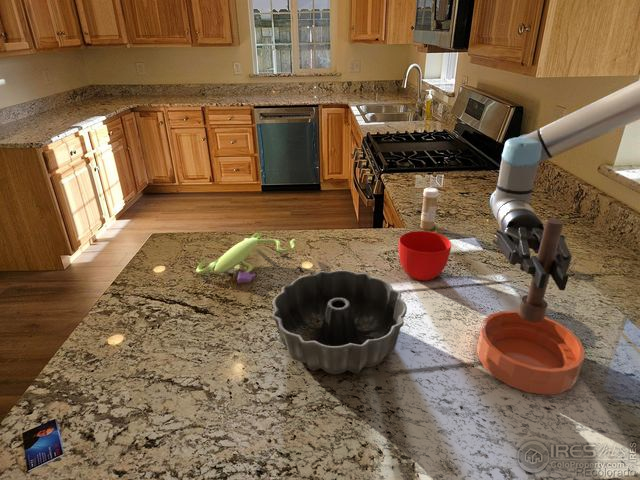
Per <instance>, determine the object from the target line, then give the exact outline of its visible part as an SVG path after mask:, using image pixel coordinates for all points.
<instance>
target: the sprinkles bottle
mask: <svg viewBox="0 0 640 480" xmlns="http://www.w3.org/2000/svg"><path fill="white" fill-rule="evenodd" d="M438 197H439V189H438V188H434V187H425V188H424V189H423V201H422V209H421V215H420V216H421V217H420V218H421V219H420V225H419V227H420V228H421V229H423V230H429V231H430V230H433V229H435V221H436V215H437V207H438Z"/></svg>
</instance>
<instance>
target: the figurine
mask: <svg viewBox="0 0 640 480" xmlns="http://www.w3.org/2000/svg"><path fill="white" fill-rule="evenodd" d="M262 235H263V234H262V232H255V233H254V234H252V236H251V237H245V238H244V239H243V240H242V241H240V242H238V243H237V244H235V245H233V246H232V247H231V248H229V249H228V250H227V251H226V252H225V253H224V254H223V255H221V256H220V257H218V258H217V259H216V260H215V261H213V262H211V263H209V265H208V266H206V267H204V266H205V264H206V263H207V259H206V258H202V260H201V261H200V262H199V264H198V265H197V267H196V269H195V273H196V274H197V275H203V274H206V273H208V272H209V271H211V270H212V269H213V268H214V269H213V272H215V273H218V274H222V273H225V272H228V274H232V275H233V273H234V272H235V267H237V266H239V264H241V265H242V266H244V267H246V268H247V267H248V268H247V270H244V269H240V270H239V271H238V274H237V276H236V277H237V284H246V283H247V284H248V283H250V282H251V281H253V280H255V277H256V273H254V271H253V269H254V266H253V264H251V263H249V262H247V261H245V260H246V259H247V258H248V257H249V256H250V255H251V254H252V253H253V252H254V250H255V249H256V247H257V245H258V244H274V245H276V247H275V248H276V251H277V252H278V253H279V254H286V253H289V252H292V251H294V250H295V249H296V248H297V247H296V245H295V243H297V240H296V239H295V238H293V239H291V240H290V241H289V245H290V247H291V248H286V249H285V248H281V241H280V240H277V239H276V238H275V239H274V238H261V237H262Z"/></svg>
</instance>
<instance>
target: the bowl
mask: <svg viewBox="0 0 640 480" xmlns="http://www.w3.org/2000/svg"><path fill="white" fill-rule="evenodd" d="M476 353H477V358H478V360H479V361H480V363H481V365H482V367H483V368H484V369H485V370H486V371H487V372H488V373H489V374H491V375H492V377H494V378H496V379H497V380H499V381H501V382H502V383H504V384H505V385H507V386H509V387H511V388H514V389H517V390H520V391H522V392H525V393H531V394H538V395H556V394H562V393H564V392H566V391H568V390H570V389H572V387H574V385H575V384H576V382H577V381H578V378H579V376H580V372H581V369H582V367H583V365H584V361H585V355H586V354H585V353H586V350H585V347H584V345H583V344H582V342H581V339H580V338H579V337H578V336H577V335H576V334H574V332H573V331H572V330H571V329H569V328H568V327H566V326H565V325H562V324H561V323H560V322H558V321H556V320H553V319H551V318H549V317H546V316H545V317H544V320H543V321H541V322H530V321H527V320H525V319H523V318H521V317H520V316H519V314H518V310H502V311H498V312H495V313H491V314H490V315H488V316H487V317H485V318H484V319H483V321H482V323H481V326H480V330H479V335H478V340H477V344H476Z"/></svg>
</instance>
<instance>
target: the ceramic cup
mask: <svg viewBox="0 0 640 480" xmlns="http://www.w3.org/2000/svg"><path fill="white" fill-rule="evenodd" d="M451 250H452V243H451V240H450V239H448V238H447V237H446V236H444V235H442V234H439V233H437V232H434V231H433V232H432V231H426V230H416V231H409V232H406V233H403V234H401V235H400V237H399V240H398V256H399V257H398V258H399V263H400V265H401V267H402V269H403V271H404V272H405V274H406V275H407V276H408V277H410V278H411V279H413V280H416V281H423V282H424V281H425V282H426V281H432V280H434V279H435V278H437V277H438V276H439V275H440V274H441V273H442V272H443V271H444V270H445V268H446V266H447V263H448V260H449V258H450V254H451Z"/></svg>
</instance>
